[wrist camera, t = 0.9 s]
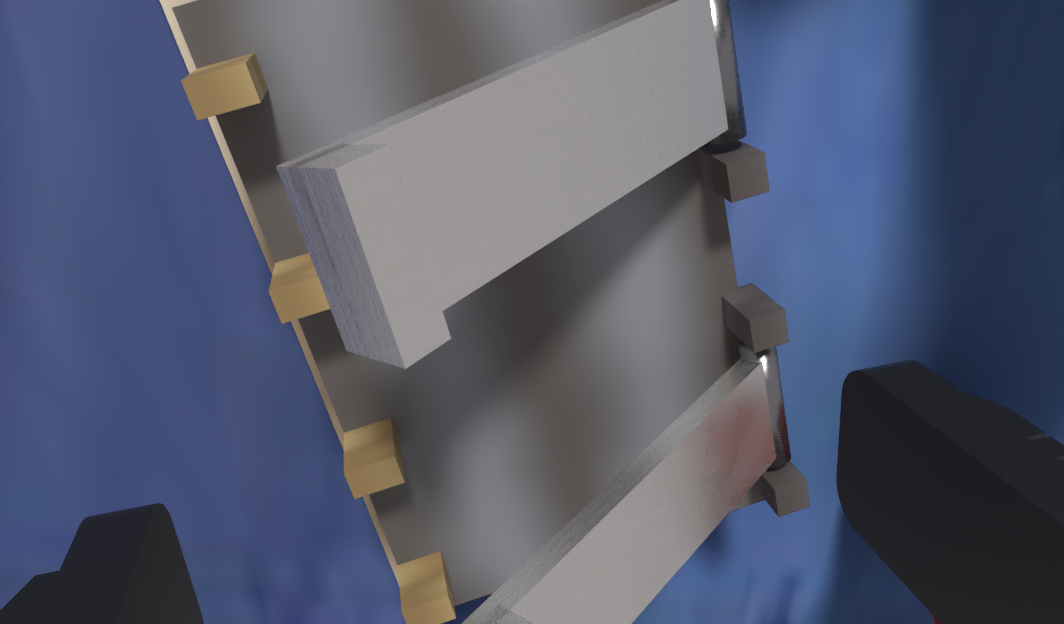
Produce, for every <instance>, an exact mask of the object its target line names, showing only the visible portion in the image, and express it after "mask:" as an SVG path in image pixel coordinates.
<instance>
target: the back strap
mask: <svg viewBox="0 0 1064 624" xmlns="http://www.w3.org/2000/svg"><path fill="white" fill-rule="evenodd" d="M739 350H740V357H741V358H740V359H739V360H738V361H737V362H736V363H735V364H734V365H733V366H732V367H731V368H730V369H729V370H727V371H726V372H725V373H724V374H723V375H722V376H721V377H720V378H719V379H718V380H717V381H716V382H715V383H714V384H713V385H712V386H711V387H710V388H709V389H707V390H706V391H705V392H704V393H703V394H702V395H701V396H700V397H699V398H698V399H697V400H696V401H695V402H694V403H693V404H692V405H691V406H690V407H689V408H688V409H686V410H685V411H684V412H683V413H682V414H681V415H680V416H679V417H678V418H677V419H676V420H675V421H674V422H673V423H672V424H671V425H670V426H669V427H668V428H666V429H665V430H664V431H663V432H662V433H661V434H660V435H659V436H658V437H657V438H656V439H655V440H654V441H653V442H652V443H651V444H650V445H649V446H648V447H647V448H645V449H644V450H643V451H642V452H641V453H640V454H639V455H638V456H637V457H636V458H635V459H634V460H633V461H632V462H631V463H630V464H629V465H628V466H627V467H626V468H624V469H623V470H622V471H621V472H620V473H619V474H618V475H617V476H616V477H615V478H614V479H613V480H612V481H611V482H610V483H609V484H608V485H607V486H606V487H604V488H603V489H602V490H601V491H600V492H599V493H598V494H597V495H596V496H595V497H594V498H593V499H592V500H591V501H590V502H589V503H588V504H587V505H586V506H585V507H583V508H582V509H581V510H580V511H579V512H578V513H577V514H576V515H575V516H574V517H573V518H572V519H571V520H570V521H569V522H568V523H567V524H566V525H565V526H563V527H562V528H561V529H560V530H559V531H558V532H557V533H556V534H555V535H554V536H553V537H552V538H551V539H550V540H549V541H548V542H547V543H546V544H545V545H544V546H542V547H541V548H540V549H539V550H538V551H537V552H536V553H535V554H534V555H533V556H532V557H531V558H530V559H529V560H528V561H527V562H526V563H525V564H524V565H522V566H521V567H520V568H519V569H518V570H517V571H516V572H515V573H514V574H513V575H512V576H511V577H510V578H509V579H508V580H507V581H506V582H505V583H504V584H503V585H501V586H500V587H499V588H498V589H497V590H496V591H495V592H494V593H493V594H492V595H491V596H490V597H489V598H488V599H487V600H486V601H485V602H484V603H483V604H481V605H480V606H479V607H478V608H477V609H476V610H475V611H474V612H473V613H472V614H471V615H470V616H469V617H468V618H467V619H466V620H465V621H464V622H463V623H462V624H631V623H632V622H633V621H634V620H635V619H636V618H637V617H638V616H639V614H640V613H641V612H642V611H643V610H644V609H645V608H646V606H647V605H648V604H649V603H650V602H651V601H652V600H653V598H654V597H655V596H656V595H657V594H658V593H659V592H660V590H661V589H662V588H663V587H664V586H665V585H666V584H667V582H668V581H669V580H670V579H671V578H672V577H673V576H674V574H675V573H676V572H677V571H678V570H679V569H680V568H681V567H682V565H683V564H684V563H685V562H686V561H687V560H688V559H689V557H690V556H691V555H692V554H693V553H694V552H695V551H696V549H697V548H698V547H699V546H700V545H701V544H702V543H703V541H704V540H705V539H706V538H707V537H708V536H709V535H710V533H711V532H712V531H713V530H714V529H715V528H716V527H717V525H718V524H719V523H720V522H721V521H722V520H723V519H724V518H725V516H726V515H727V514H728V513H729V512H730V511H731V510H732V508H733V507H734V506H735V505H736V504H737V503H738V502H739V500H740V499H741V498H742V497H743V496H744V495H745V494H746V492H747V491H748V490H749V489H750V488H751V487H752V486H753V484H754V483H755V482H756V481H757V480H758V479H759V478H760V476H761V475H762V474H763V473H764V472H765V471H766V470H767V469H768V468H778V467H782V466H784V465H786V464H787V463H788V462H789V461H790V459H791V453H790V446H789V438H788V431H787V424H786V416H785V409H784V402H783V394H782V387H781V380H780V372H779V365H778V358H777V350H776V346H775V347H772V348H769V349H766V350H763V351H760V352H757V353H754V352H753V351H752V350H750V349H749V348H748V347H747V346H746V345H745V344H744V343H743V342H742V341H740V342H739Z"/></svg>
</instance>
